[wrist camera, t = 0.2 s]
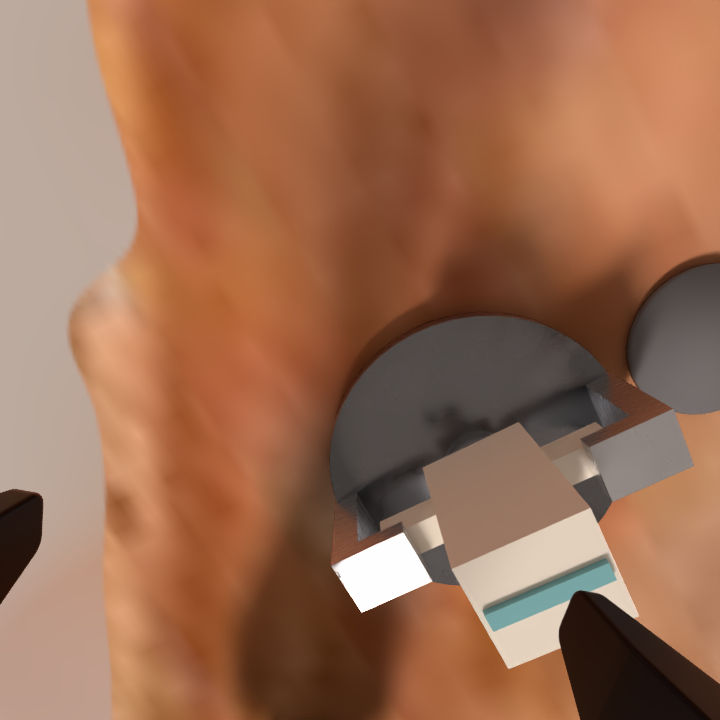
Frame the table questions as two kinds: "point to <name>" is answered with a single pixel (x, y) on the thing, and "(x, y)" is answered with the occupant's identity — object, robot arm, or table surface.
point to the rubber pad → (680, 342)
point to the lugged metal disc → (475, 434)
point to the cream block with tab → (517, 535)
